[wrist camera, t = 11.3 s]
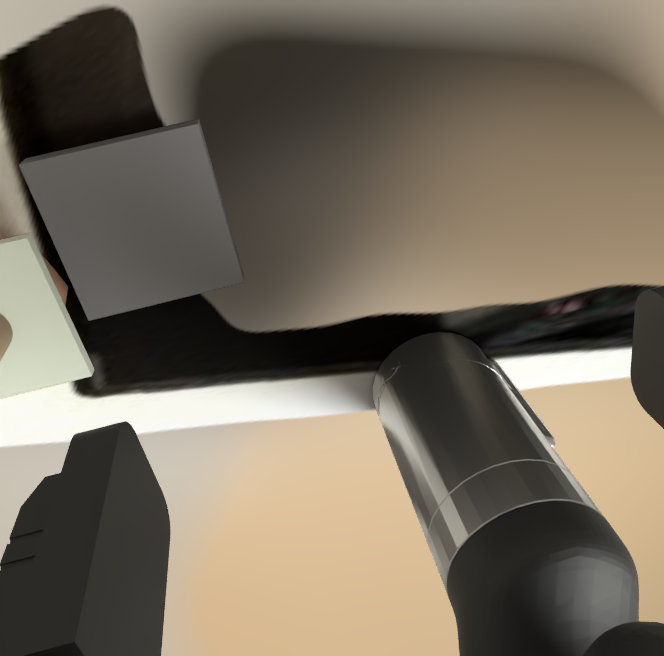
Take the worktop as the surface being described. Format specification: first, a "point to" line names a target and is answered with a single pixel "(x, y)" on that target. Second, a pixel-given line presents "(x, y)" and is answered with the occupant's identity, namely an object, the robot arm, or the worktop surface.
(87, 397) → the worktop surface
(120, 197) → the mat
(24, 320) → the lid
